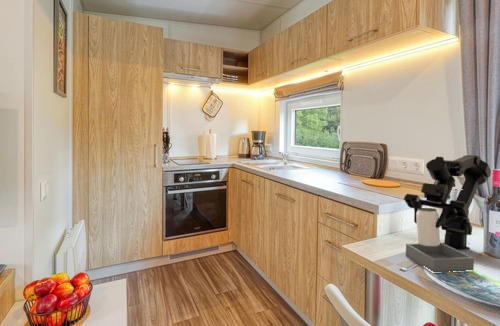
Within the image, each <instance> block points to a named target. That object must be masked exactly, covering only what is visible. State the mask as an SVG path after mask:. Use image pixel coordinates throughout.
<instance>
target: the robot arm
mask: <svg viewBox="0 0 500 326" xmlns="http://www.w3.org/2000/svg"><path fill="white" fill-rule="evenodd" d="M425 166H426V170H427V171H428V173H429V175H430V178H431V179H432V180H433V181H434V182H433V183H427V182H426V183H425V182H424V183H422V187H421V190H420V193H422V194H423V196H424V198H425V199H421V198H420V197H419V195H418V194H412V193H406V194H405V195H404V197H403V200H404V202H405V204H406V205H407V206H408V207H409V208H411V209H413V211H414V218H413V219H414V220H413V222H414V223H415V224H417V220H416V213H417V211H418V210H417V209H418V208H423V206H424V207H425V206H426V207H429V208H434V209H442V210H441V214H439V219H438V221H437V223H436V228H439V229H440V228H441V231H442V230H443V231H445V234H444V242H442V243H443V244H446V245H448V246H450V247H452V248H454V249H456V250H458V251H460V250H470V247H468V246H467V242H468V241H467V240H468V239H467V238H468V237H467V236H468V235H469V236H471V235H472V234H473V233H472V232H473V227H472V224H471V222H470V218H469V214H470V211H469V209H470V207H471V204H472V202H473V199H474V198H475V195H476V192H477V190H478V188H479V186H481V185H482V184H485V183H486V182H487V181H488V179H489V178H490V177H491V173H492V170H491V168H490V165H489V163H487V162H485V161H484V160H482V159H481V156H479V155H472V154H471V155H469V154H468V155H467V154H466V155H465V154H464V155H463V156H461V157H459V158H457V159H453V160H445V159H444V156H436V157H435V158H433V159H431V160H429V161H428V162H427V163H426V165H425ZM461 176H463V177H464V182H463V184H462V186H461V188H460V191H459V192H458V195H457V197H456V199H455V200H453V199H452V200H450V199H451V192H452V191H453V188H455V187H456V179H455V177H457V178H458V177H459V178H460V177H461ZM461 189H463V190H461ZM448 200H450V201H449V203H447V202H448Z"/></svg>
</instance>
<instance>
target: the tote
mask: <svg viewBox="0 0 500 326" xmlns="http://www.w3.org/2000/svg"><path fill="white" fill-rule="evenodd" d="M443 243H444V242H440V245H439V246H436V247H428V246H423V245H420V244H419V243H418V242H417V243H406V244H405V257H406V258H408V259H410V260H411V261H412V262H414V263H416V264H418V265H419V266H421V267H422V268H424V267H423V266H425V267H427V268H428V269H430V270H431V271H433V272H449V271H450V272H453V271H466V270H473V271H474V269H475V268H474V264H475V257H473V256H471V255H468V254H466V253H464V252H463V251H460V250H456V249H454V248H452V247H450V246H448V245H446V244H443Z"/></svg>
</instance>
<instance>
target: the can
mask: <svg viewBox="0 0 500 326" xmlns="http://www.w3.org/2000/svg"><path fill="white" fill-rule="evenodd" d="M417 210H418V211H417V213H416V220H417V223H416V233H417V234H416V235H417V238H416V239H417V244H418V243H419V244H420V245H423V246H428V247H436V246H439V245H440V243H441V240H440V239H441V238H440V237H441V236H440V227H439V228H436V223H437V221H438V219H439V217H440V214H439V213H438V211H437V210H438V209H437V208H434V207H422V208H418V209H417Z"/></svg>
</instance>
